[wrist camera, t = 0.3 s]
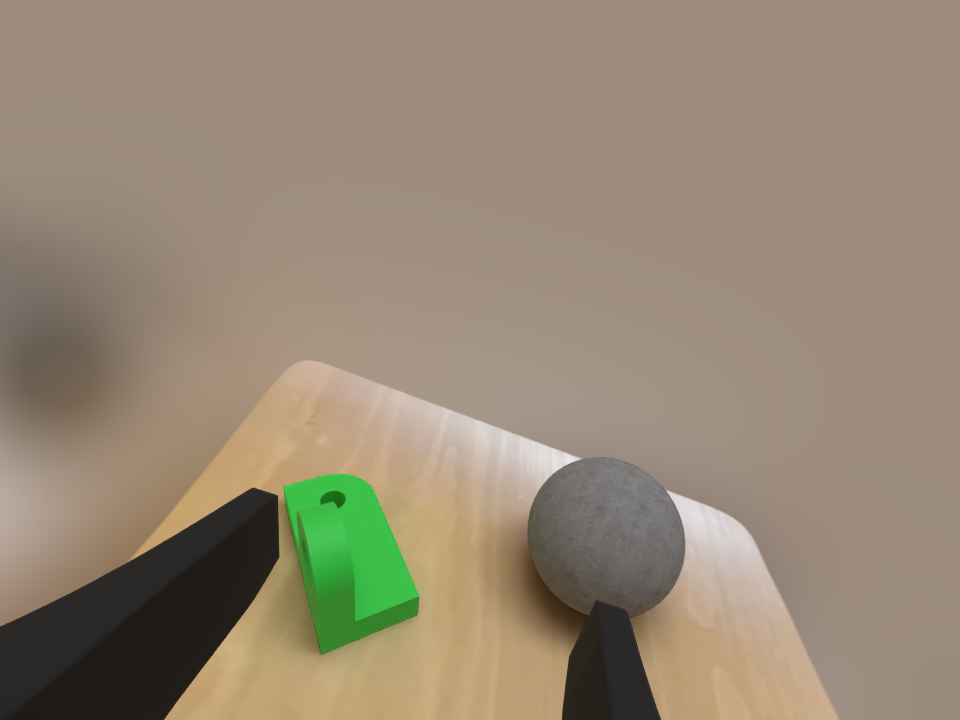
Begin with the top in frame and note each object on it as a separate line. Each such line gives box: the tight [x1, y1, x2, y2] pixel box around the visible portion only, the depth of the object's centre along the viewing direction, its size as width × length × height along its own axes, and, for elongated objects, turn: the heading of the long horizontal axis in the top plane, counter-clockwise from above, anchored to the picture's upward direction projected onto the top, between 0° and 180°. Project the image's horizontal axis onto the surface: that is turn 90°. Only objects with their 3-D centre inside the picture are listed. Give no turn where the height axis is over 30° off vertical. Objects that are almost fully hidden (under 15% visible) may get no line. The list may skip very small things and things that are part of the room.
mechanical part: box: [283, 474, 419, 654], centre depth 32 cm, size 12×6×8 cm, turn 28°
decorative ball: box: [528, 457, 685, 617], centre depth 32 cm, size 10×10×10 cm
